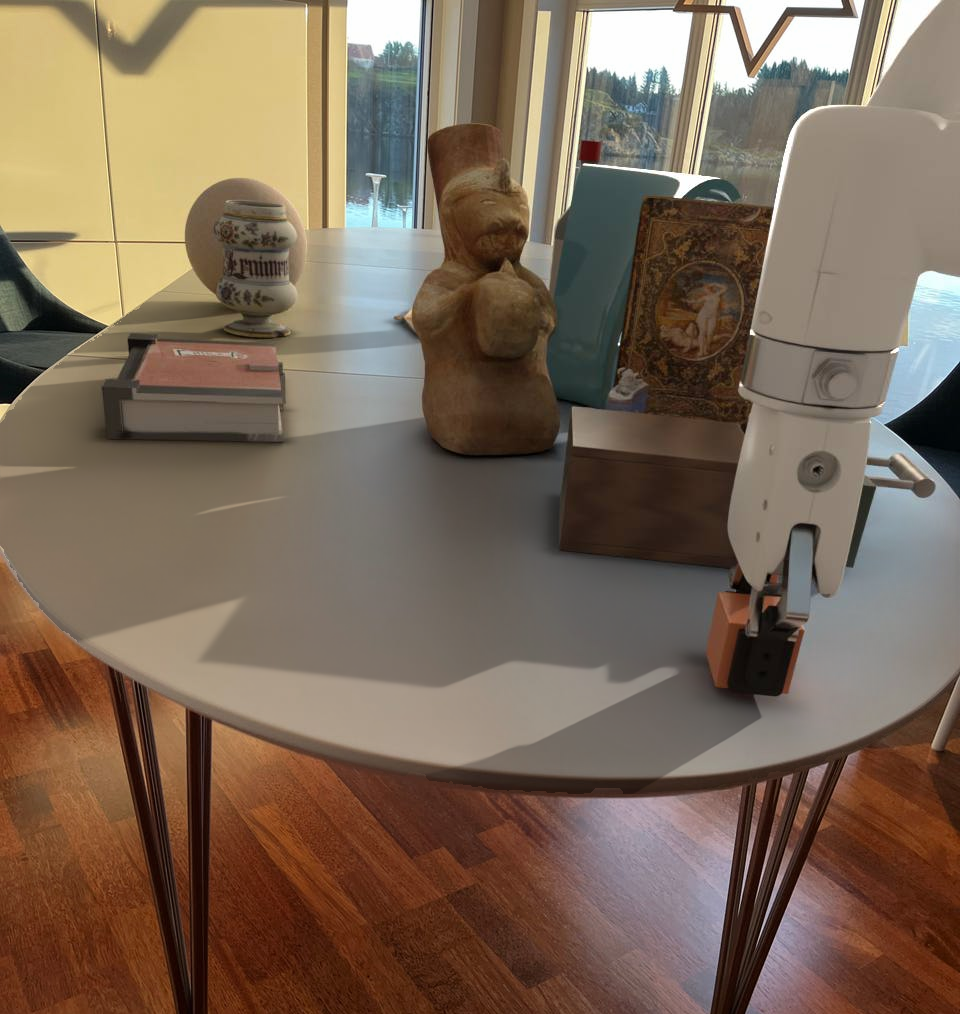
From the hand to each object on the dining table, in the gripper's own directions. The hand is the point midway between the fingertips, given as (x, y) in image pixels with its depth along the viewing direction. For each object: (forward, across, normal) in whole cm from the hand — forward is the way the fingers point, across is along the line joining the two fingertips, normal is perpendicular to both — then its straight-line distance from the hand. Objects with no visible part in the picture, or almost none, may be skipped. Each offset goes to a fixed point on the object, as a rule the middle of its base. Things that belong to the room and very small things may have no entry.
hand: (746, 667), depth 58 cm
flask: (+1, +39, +6) cm, 39 cm away
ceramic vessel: (+1, +51, +21) cm, 55 cm away
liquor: (+2, +131, +10) cm, 131 cm away
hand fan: (+1, +116, +33) cm, 121 cm away
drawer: (0, +25, -8) cm, 26 cm away
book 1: (+1, +50, +51) cm, 72 cm away
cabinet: (+1, +25, +4) cm, 25 cm away
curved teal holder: (+2, +72, -1) cm, 72 cm away
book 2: (+2, +53, -2) cm, 53 cm away
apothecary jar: (+1, +94, +58) cm, 110 cm away
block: (0, 0, 0) cm, 0 cm away
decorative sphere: (+1, +116, +66) cm, 133 cm away
